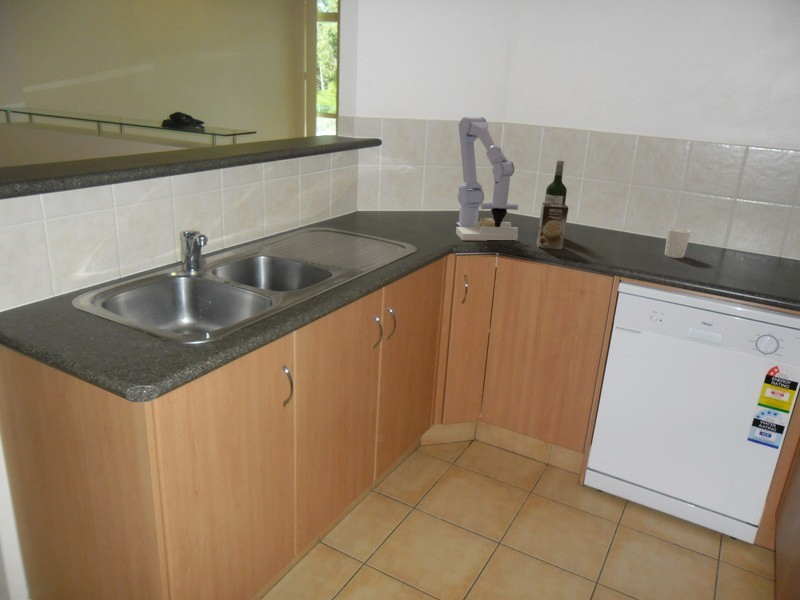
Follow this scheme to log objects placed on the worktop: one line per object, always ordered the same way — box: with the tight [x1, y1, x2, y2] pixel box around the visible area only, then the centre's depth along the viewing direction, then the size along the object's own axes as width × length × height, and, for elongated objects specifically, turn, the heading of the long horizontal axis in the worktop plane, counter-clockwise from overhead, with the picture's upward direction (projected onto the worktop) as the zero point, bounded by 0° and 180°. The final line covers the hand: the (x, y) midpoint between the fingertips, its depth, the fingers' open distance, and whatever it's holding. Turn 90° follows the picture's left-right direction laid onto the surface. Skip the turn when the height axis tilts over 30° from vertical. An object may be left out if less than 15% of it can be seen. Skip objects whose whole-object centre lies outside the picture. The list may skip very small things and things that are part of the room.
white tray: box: [455, 221, 519, 241], centre depth 250 cm, size 11×22×5 cm, turn 99°
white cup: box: [664, 226, 692, 259], centre depth 237 cm, size 8×8×10 cm
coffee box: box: [535, 202, 569, 250], centre depth 239 cm, size 9×6×16 cm
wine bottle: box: [544, 159, 568, 205], centre depth 253 cm, size 8×8×30 cm
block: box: [479, 217, 495, 227], centre depth 249 cm, size 4×4×4 cm
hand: (497, 227), depth 250 cm, fingers closed
